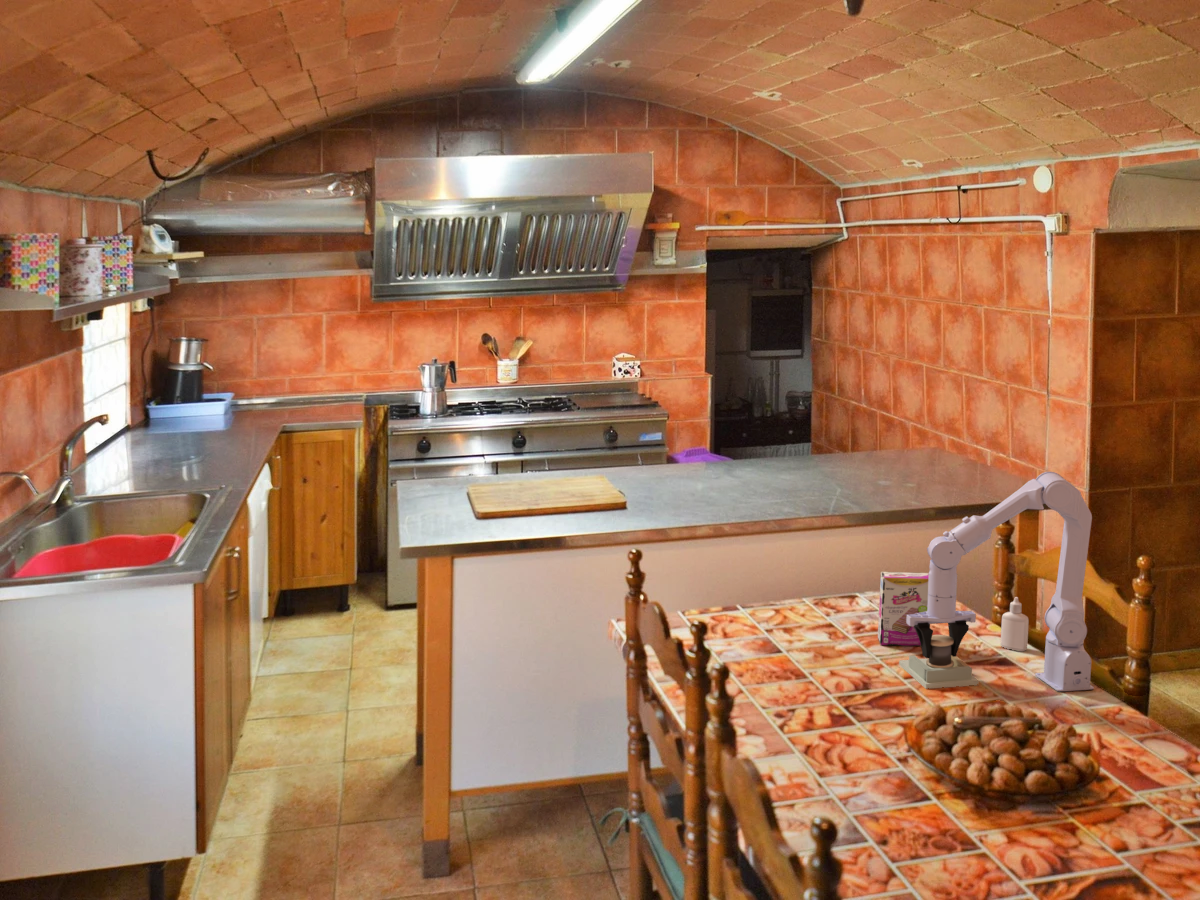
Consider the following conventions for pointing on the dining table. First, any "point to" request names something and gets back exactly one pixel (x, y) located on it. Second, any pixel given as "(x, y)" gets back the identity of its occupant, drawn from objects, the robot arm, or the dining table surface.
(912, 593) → the candy bar box
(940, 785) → the dining table surface
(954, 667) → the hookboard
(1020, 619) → the eye dropper bottle
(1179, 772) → the dining table surface
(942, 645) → the spool
